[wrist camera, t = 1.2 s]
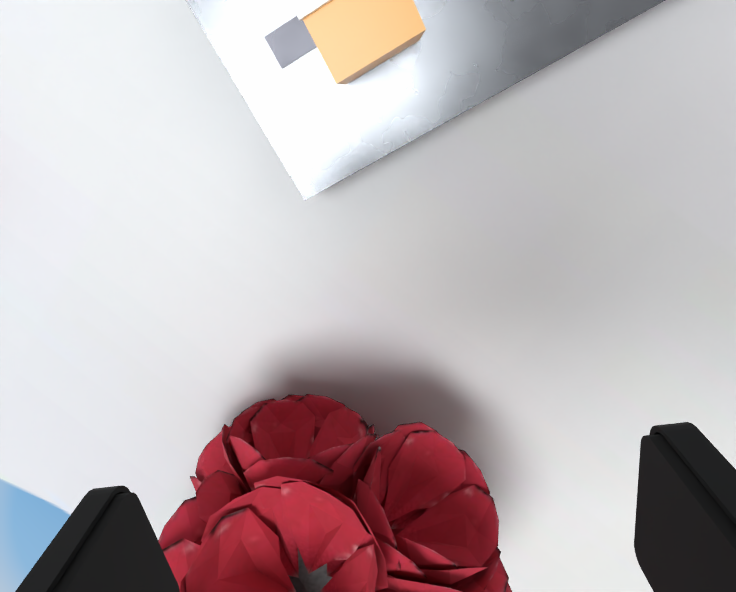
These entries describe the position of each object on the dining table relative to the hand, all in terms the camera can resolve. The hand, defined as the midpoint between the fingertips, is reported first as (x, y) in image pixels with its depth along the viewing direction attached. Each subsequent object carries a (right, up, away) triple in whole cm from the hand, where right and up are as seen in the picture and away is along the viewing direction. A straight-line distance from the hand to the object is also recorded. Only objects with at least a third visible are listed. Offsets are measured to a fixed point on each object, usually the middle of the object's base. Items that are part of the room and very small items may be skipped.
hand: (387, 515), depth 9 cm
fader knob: (-1, +18, +14) cm, 23 cm away
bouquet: (-5, -12, +32) cm, 34 cm away
